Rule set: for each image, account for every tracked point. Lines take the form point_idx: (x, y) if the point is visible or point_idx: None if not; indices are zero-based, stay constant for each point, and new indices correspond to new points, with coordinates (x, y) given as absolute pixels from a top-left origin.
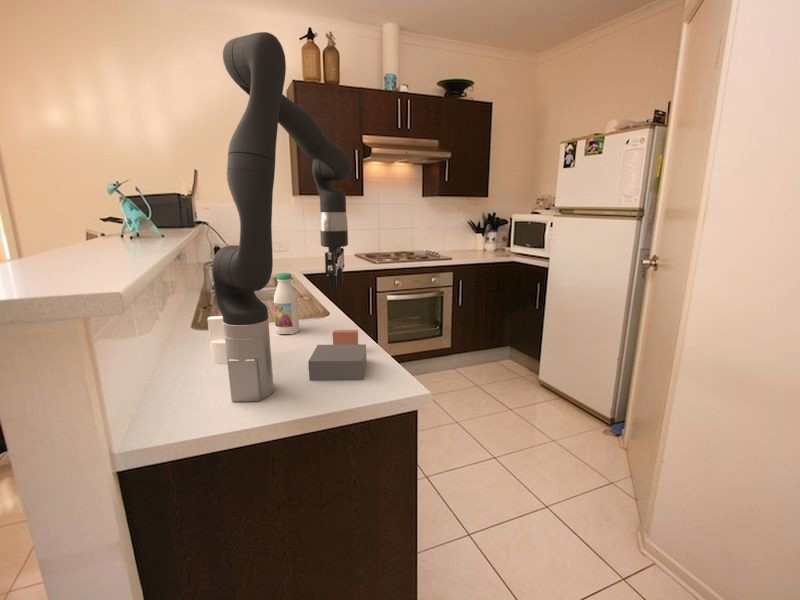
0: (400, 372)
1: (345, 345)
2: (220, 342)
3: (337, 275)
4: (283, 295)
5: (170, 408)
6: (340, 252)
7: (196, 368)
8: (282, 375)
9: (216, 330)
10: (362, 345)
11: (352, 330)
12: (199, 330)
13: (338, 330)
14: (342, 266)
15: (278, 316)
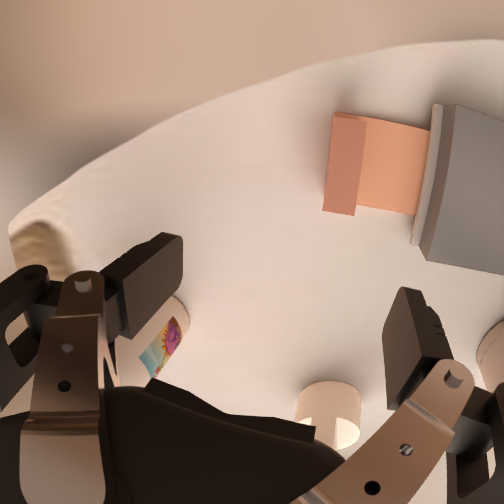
0: (501, 43)
1: (456, 173)
2: (353, 439)
3: (148, 300)
4: None
5: None
6: (9, 474)
7: (365, 427)
8: (461, 311)
9: None
10: (464, 117)
11: (339, 138)
12: None
13: (332, 193)
14: (75, 300)
15: (167, 360)
